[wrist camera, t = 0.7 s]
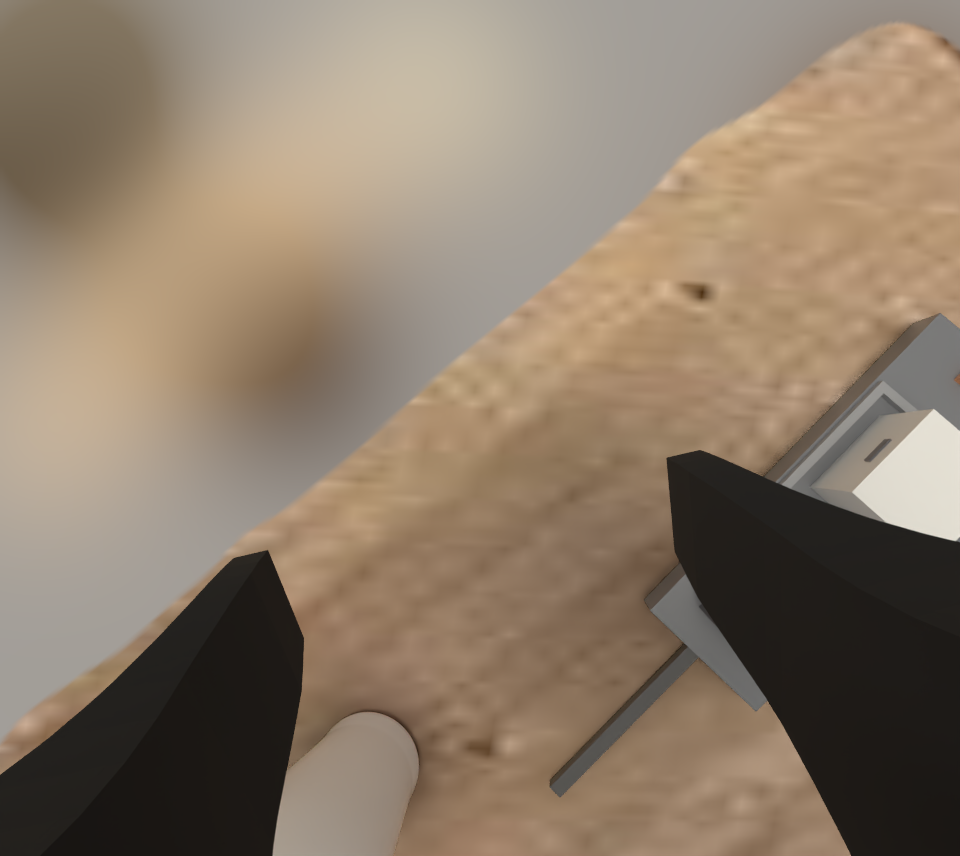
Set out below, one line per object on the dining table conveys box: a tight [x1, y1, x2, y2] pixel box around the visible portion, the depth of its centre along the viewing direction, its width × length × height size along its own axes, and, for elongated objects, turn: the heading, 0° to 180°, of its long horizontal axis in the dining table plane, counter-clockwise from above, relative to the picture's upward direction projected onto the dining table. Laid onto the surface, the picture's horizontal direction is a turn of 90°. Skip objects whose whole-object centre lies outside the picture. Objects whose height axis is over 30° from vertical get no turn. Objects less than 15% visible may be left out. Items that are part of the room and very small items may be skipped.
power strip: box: [550, 313, 960, 797], centre depth 30 cm, size 6×29×6 cm, turn 136°
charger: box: [810, 409, 960, 541], centre depth 28 cm, size 4×4×4 cm
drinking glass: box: [273, 712, 419, 856], centre depth 28 cm, size 7×7×15 cm
